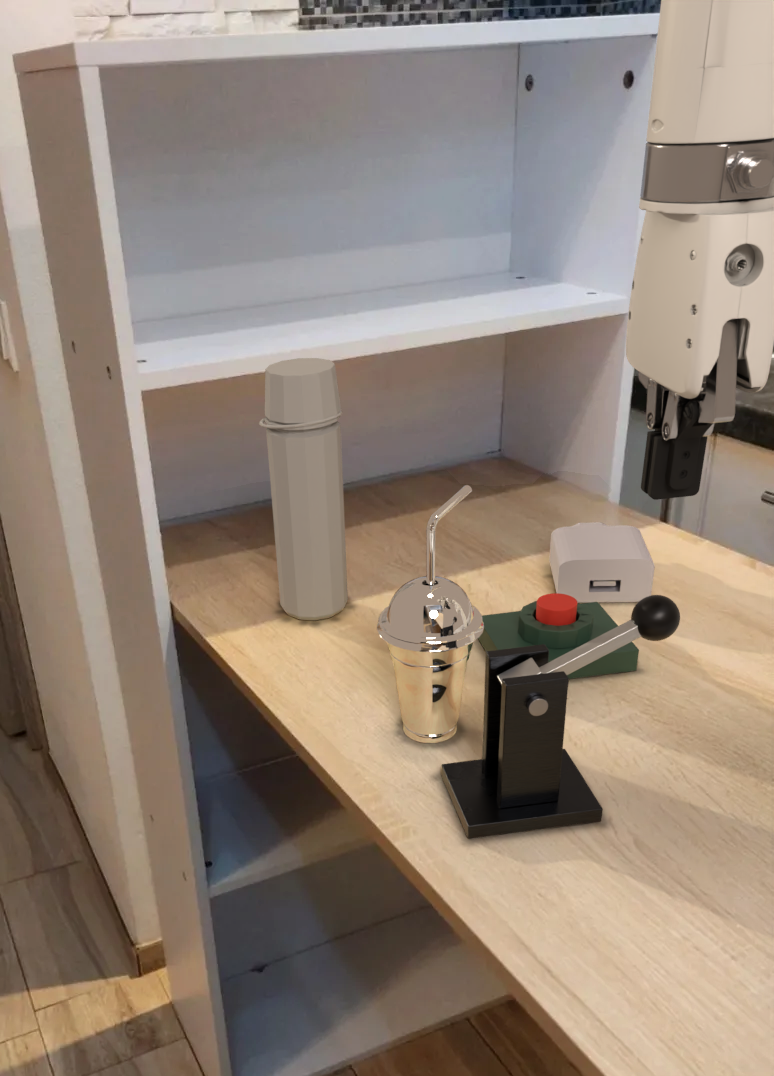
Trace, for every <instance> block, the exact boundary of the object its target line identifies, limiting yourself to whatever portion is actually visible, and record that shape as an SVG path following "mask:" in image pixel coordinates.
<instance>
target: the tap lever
mask: <svg viewBox="0 0 774 1076" xmlns="http://www.w3.org/2000/svg"><path fill="white" fill-rule="evenodd" d="M630 618H631V619H629V620H627V621H625V622H623V623H622V624H620V625H618V627H616V628H614V629H612V630H610V631H608V632H606V633H604V634H602V635H600V636H598V637H597V638H595V639H593V640H591V641H589V642H587V643H585V644H583V645H581V646H579V647H577V648H575V649H574V650H572V651H570V652H568V653H566V654H564V655H562V656H560V657H558V658H556V659H554V660H552V661H551V662H549V663H547V664H545V665H543V666H541V667H538V666H537V664H536V663H535V661H534V660H533V658H530V659H528V660H526V661H524V662H522V663H520V664H518V665H516V666H514V667H512V668H510V669H509V670H507V671H505V672H503V673H501V674H499V675H497V678H498V680H499V681H500V683H501V685H502V679H504V678H512V677H520V676H528V675H536V674H544V673H552V672H560V671H564V672H565V673H566V675H568V674H570V673H572V672H574V671H576V670H578V669H580V668H582V667H584V666H586V665H588V664H589V663H591V662H593V661H595V660H597V659H599V658H601V657H603V656H605V655H607V654H609V653H611V652H613V651H615V650H617V649H618V648H620V647H622V646H624V645H626V644H628V643H630V642H634V641H636V640H638V639H640V638H642V639H644V640H647V641H651V642H659V641H664V640H667V639H669V638H670V637H671V636H673V634H674V633H675V632H676V631H677V629H678V628H679V626H680V623H681V613H680V609H679V607H678V606H677V604H676V603H675V601H674V600H673V599H671V598H669V597H667V596H665V595H661V594H651V596H648V597H645V598H643V599H642V600H640V601H638V602H637V603H636V604H635V605H634V607H633V609H632V611H631V615H630Z"/></svg>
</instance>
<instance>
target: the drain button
mask: <svg viewBox="0 0 774 1076" xmlns="http://www.w3.org/2000/svg"><path fill="white" fill-rule="evenodd" d="M536 601H537V606H536V620H537V621H539V622H541V623H544V624H547V625H556V626H561V625H569V624H571V623H574V622H575V621H576V614H577V600H576V599H575V598H573V597H572V596H569V595H566V594H559V593H555V592H554V593H547V594H543V595H541V596H539V597H538V598H537V599H536Z"/></svg>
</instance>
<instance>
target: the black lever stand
mask: <svg viewBox="0 0 774 1076" xmlns="http://www.w3.org/2000/svg"><path fill="white" fill-rule="evenodd" d="M530 658H533V660H534V661H535V663H536V664H537V666H538V667H541V666H543V665H545V664H547V663H548V659H549V650H548V648H547V647H546V645H545V644H543V645H534V646H526V647H518V648H510V649H502V650H493V651H485V661H484V662H485V668H484V694H483V695H484V697H483V718H482V719H483V723H482V747H481V748H482V751H481V758H479V759H473V760H464V761H456V762H447V763H441V766H440V768H441V769H440V770H441V771H440V772H441V773H440V775H441V776H440V777H441V779H442V781H443V784H444V786H445V788H446V790H447V792H448V795H449V797H450V799H451V802H452V805H453V806H454V809H455V811H456V813H457V816H458V818H459V821H460V823H461V826H462V828H463V830H464V833H465V835H466V837H467V839H469V840H470V839H477V838H478V839H479V838H484V837H492V836H499V835H507V834H508V835H509V834H516V833H525V832H531V831H538V830H547V829H554V828H562V827H568V826H576V825H584V824H592V823H599V822H600V823H601V822H602V820H603V812H604V811H603V810H604V809H603V807H602V805H601V804H600V802H599V800H598V799H597V797H596V796H595V794H594V793H593V791H592V789H591V788H590V785H588V783H587V781H586V780H585V778H584V777H583V775H582V774H581V772H580V771H579V769H578V767H577V766H576V763H575V762H574V760H573V759H572V758H571V756H570V755H569V753H568V751H567V749H566V748H564V738H565V727H566V717H567V716H566V714H567V702H568V693H569V692H568V691H569V680H570V679H569V678H568V676H567V675H566V673H565V672H564V671H560V672H552V673H544V674H536V675H528V676H520V677H512V678H504V679H502V685H501V683H500V681H499V680H498V678H497V675H499V674H501V673H503V672H505V671H507V670H509V669H510V668H512V667H514V666H516V665H518V664H520V663H522V662H524V661H526V660H528V659H530Z"/></svg>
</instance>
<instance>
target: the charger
mask: <svg viewBox="0 0 774 1076" xmlns="http://www.w3.org/2000/svg"><path fill="white" fill-rule="evenodd" d="M645 541H646V540H645V538H644V537H643V534H642V532H641V530H640V528H638V527H636V526H633V525H629V524H628V525H626V524H620V525H619V524H618V525H617V524H616V525H608V524H606V523H604V522H601V521H600V522H598V521H597V522H596V521H594V522H577V523H575V524H573V525H571V526H568V525H567V526H562V527H561V526H560V527H558V528H557V527H556V528H555V529H554V530H552V532H551V533H550V544H549V557H548V558H549V559H548V561H549V565H550V571H551V574H552V579H553V584H554V588H555V592H556V593H559V594H566V595H569V596H572V597H573V598H575V599H576V600H577V603H579V604H582V603H591V602H598V603H636V602H637V603H638V602H639V601H640V600H642V599H643V598H645V597H648V596H651V595H652V591H653V583H654V577H655V576H654V575H655V568H656V565H655V563H654V561H653V558H652V555H651V554H650V551H649V549H648V546H647V544H646V542H645Z"/></svg>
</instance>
